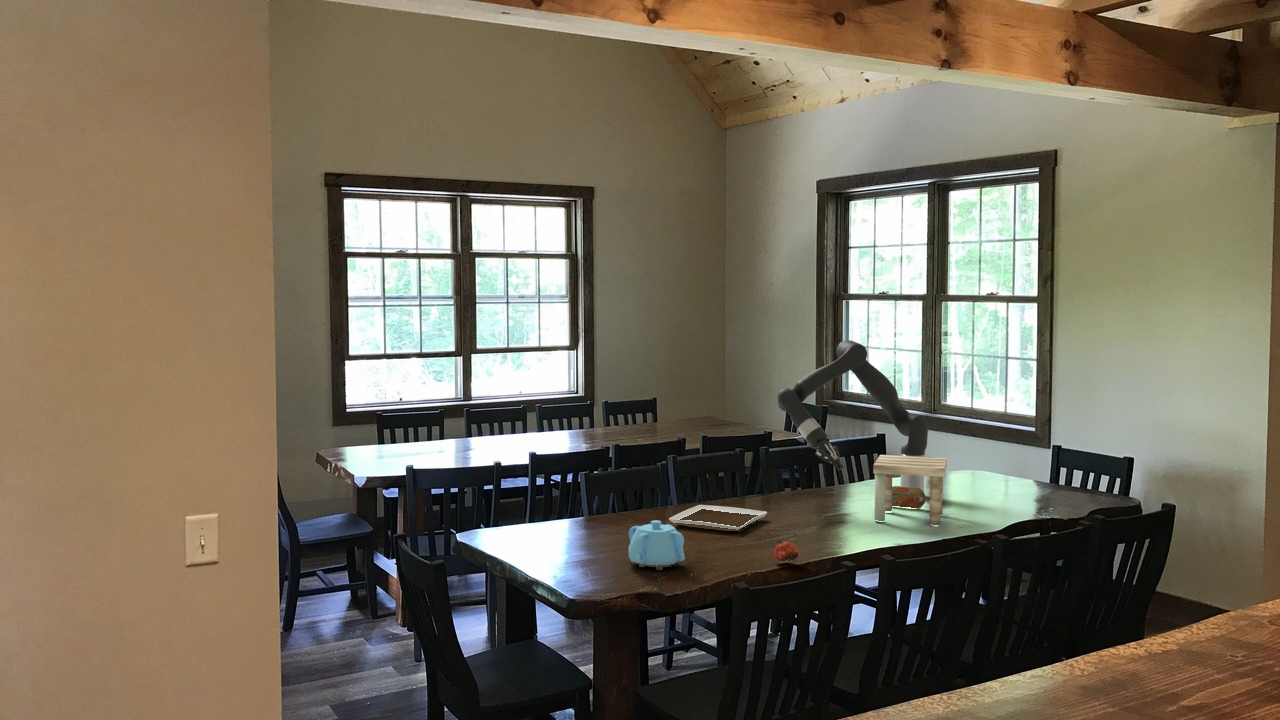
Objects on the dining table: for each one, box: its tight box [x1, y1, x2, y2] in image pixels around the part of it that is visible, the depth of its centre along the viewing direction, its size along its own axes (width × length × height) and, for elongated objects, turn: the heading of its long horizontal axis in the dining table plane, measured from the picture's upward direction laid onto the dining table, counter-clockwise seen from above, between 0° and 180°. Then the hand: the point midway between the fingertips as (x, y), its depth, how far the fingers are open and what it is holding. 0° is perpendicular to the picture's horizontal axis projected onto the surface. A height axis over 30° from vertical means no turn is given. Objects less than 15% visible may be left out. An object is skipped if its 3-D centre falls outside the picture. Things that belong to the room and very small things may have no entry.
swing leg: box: [874, 473, 886, 521], centre depth 370 cm, size 13×4×17 cm, turn 156°
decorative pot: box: [627, 519, 686, 566], centre depth 309 cm, size 16×16×14 cm
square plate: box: [668, 504, 768, 530], centre depth 366 cm, size 27×27×4 cm
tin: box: [892, 485, 927, 510], centre depth 391 cm, size 15×3×8 cm, turn 62°
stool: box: [872, 454, 948, 526], centre depth 371 cm, size 24×24×21 cm
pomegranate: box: [773, 540, 800, 561], centre depth 310 cm, size 7×7×10 cm
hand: (841, 469), depth 378 cm, fingers closed
